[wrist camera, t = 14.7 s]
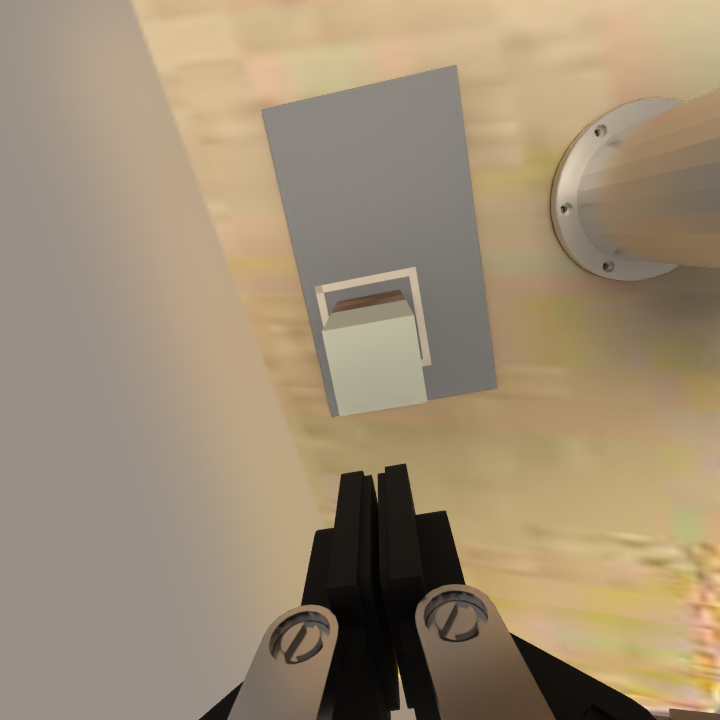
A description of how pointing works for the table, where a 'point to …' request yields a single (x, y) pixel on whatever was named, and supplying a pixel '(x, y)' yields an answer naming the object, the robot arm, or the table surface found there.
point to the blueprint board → (388, 217)
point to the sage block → (374, 358)
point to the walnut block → (368, 301)
